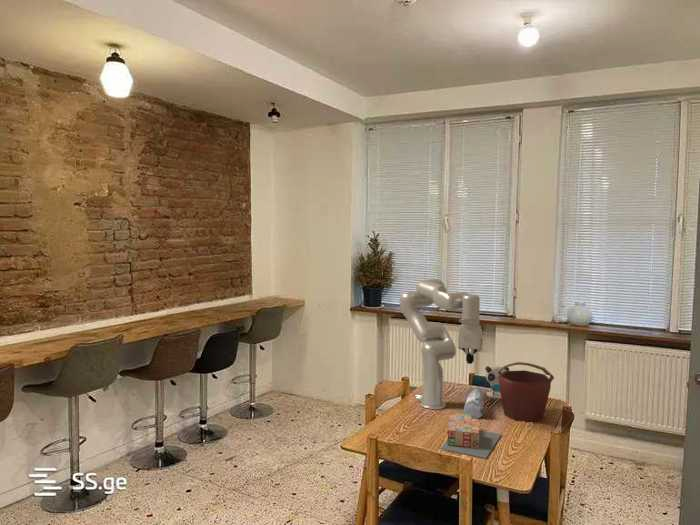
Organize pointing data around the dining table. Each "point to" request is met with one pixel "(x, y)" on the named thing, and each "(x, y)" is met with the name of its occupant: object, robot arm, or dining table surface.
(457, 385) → the dining table surface
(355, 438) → the dining table surface
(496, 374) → the panda figurine
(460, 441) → the stack of blocks
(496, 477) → the dining table surface
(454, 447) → the rubber mat
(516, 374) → the bucket
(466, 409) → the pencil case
